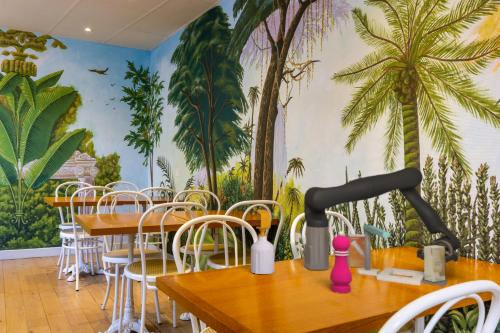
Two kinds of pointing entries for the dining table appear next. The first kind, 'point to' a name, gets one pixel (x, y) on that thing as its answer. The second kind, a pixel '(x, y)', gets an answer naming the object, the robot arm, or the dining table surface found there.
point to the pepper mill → (341, 265)
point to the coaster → (436, 282)
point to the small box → (356, 250)
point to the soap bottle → (262, 248)
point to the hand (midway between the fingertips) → (434, 258)
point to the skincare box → (434, 263)
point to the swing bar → (376, 231)
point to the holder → (388, 269)
